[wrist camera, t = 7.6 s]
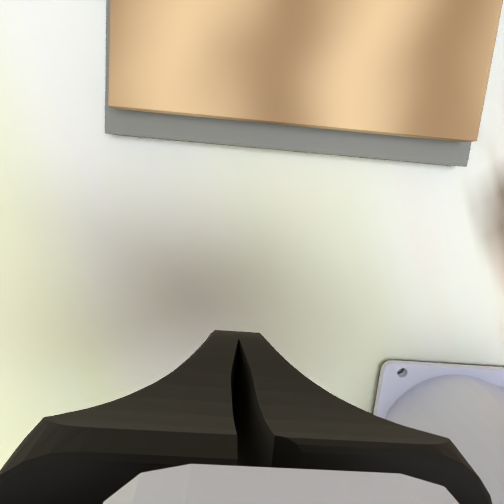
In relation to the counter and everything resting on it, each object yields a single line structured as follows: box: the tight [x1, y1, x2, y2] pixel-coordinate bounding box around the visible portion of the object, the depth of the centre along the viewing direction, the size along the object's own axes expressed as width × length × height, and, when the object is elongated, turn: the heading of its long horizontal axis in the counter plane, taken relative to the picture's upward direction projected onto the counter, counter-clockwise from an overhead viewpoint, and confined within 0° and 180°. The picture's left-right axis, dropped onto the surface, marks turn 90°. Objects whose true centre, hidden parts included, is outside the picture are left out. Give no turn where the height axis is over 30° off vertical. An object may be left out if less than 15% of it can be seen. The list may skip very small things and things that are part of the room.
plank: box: [108, 0, 503, 142], centre depth 17 cm, size 15×8×1 cm, turn 85°
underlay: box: [105, 0, 471, 167], centre depth 18 cm, size 16×12×1 cm
